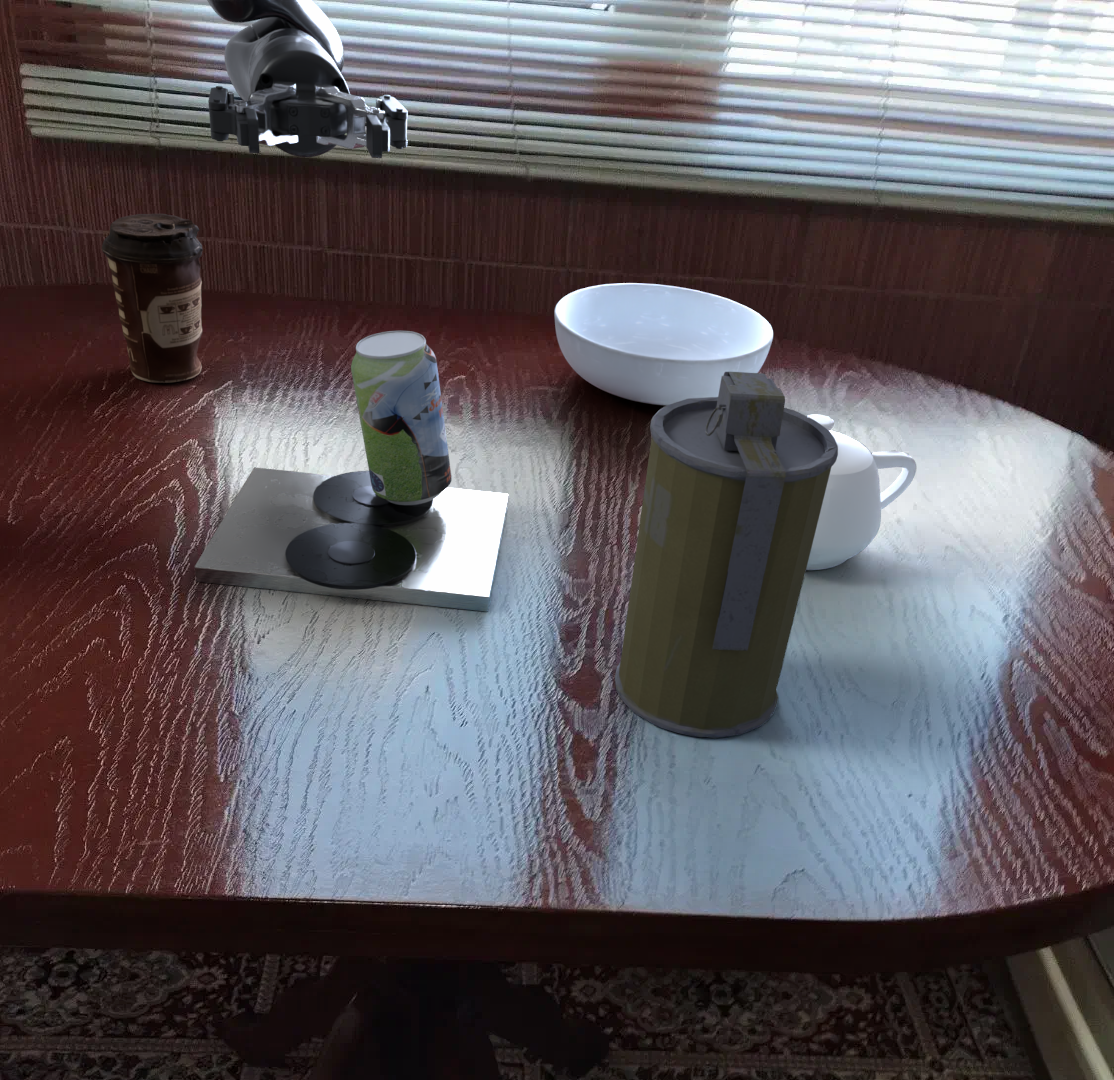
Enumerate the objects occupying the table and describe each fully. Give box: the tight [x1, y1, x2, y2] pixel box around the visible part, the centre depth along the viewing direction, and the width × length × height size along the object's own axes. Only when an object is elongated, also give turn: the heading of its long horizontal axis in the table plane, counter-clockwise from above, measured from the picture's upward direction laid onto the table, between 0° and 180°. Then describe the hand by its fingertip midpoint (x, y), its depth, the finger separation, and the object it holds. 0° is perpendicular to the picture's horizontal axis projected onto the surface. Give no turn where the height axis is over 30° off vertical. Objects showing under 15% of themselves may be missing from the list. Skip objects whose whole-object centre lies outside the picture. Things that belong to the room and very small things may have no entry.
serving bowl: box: [554, 282, 774, 406], centre depth 116 cm, size 21×21×7 cm
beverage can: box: [350, 330, 452, 505], centre depth 88 cm, size 6×7×12 cm
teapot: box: [806, 413, 917, 571], centre depth 91 cm, size 20×12×10 cm, turn 108°
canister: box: [614, 372, 838, 739], centre depth 71 cm, size 11×10×20 cm
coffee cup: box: [101, 213, 204, 384], centre depth 107 cm, size 9×8×13 cm
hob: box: [194, 467, 510, 613], centre depth 88 cm, size 20×18×2 cm
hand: (316, 140), depth 84 cm, fingers open, 8 cm apart
